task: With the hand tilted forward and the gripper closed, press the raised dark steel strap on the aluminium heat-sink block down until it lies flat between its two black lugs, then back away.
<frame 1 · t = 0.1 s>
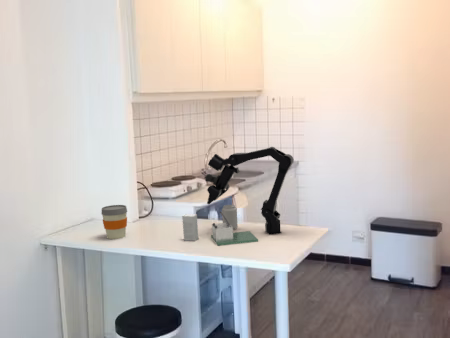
hand: (210, 202, 260), 15 cm above the counter, tool tilted 35°, fingers open, 9 cm apart
can: (230, 229, 265), on the counter
strap: (224, 218, 242), point 10 cm above the counter, hinge at 60.0°
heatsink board: (234, 239, 245), on the counter
reusable coffee cup: (116, 237, 260), on the counter
skincare box: (191, 240, 248), on the counter
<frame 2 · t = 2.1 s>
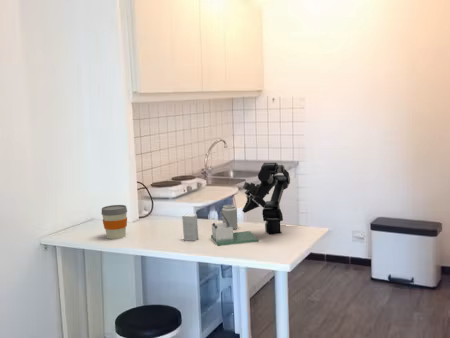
hand: (243, 212, 244), 13 cm above the counter, tool tilted 45°, fingers closed
nothing on the counter moved.
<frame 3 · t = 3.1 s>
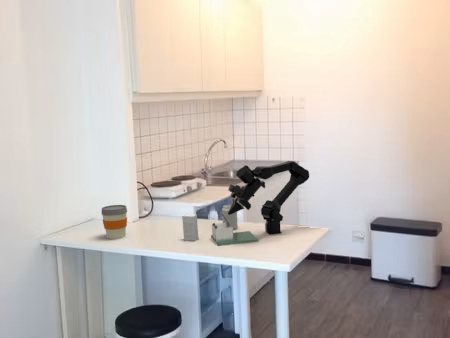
hand: (228, 214, 242), 12 cm above the counter, tool tilted 45°, fingers closed
nothing on the counter moved.
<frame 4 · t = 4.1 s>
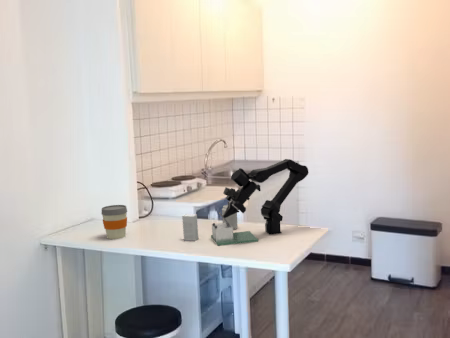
hand: (223, 217, 242), 11 cm above the counter, tool tilted 45°, fingers closed, pressing on strap
strap: (224, 218, 242), point 10 cm above the counter, hinge at 55.1°, touching gripper
everything else where it was.
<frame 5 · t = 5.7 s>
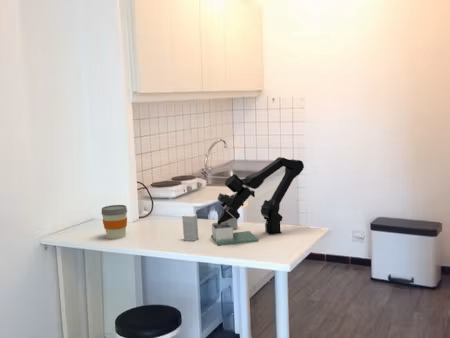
hand: (217, 223, 242), 8 cm above the counter, tool tilted 45°, fingers closed, pressing on strap
strap: (220, 224, 242), point 8 cm above the counter, hinge at 4.4°, touching gripper
everything else where it was.
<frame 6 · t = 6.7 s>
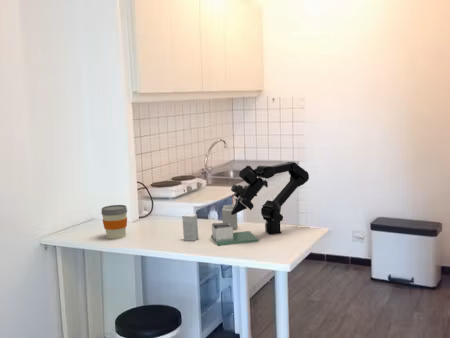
hand: (231, 214, 243), 12 cm above the counter, tool tilted 45°, fingers closed
strap: (220, 224, 242), point 8 cm above the counter, hinge at 3.9°
everything else where it was.
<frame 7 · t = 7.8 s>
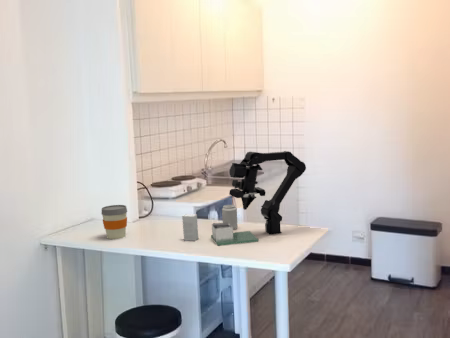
hand: (244, 209, 248), 13 cm above the counter, tool pointing down, fingers closed
nothing on the counter moved.
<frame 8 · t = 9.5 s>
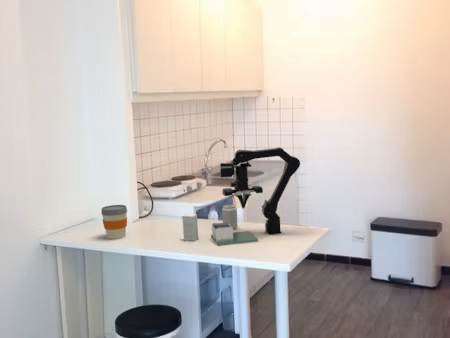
hand: (243, 208, 250), 13 cm above the counter, tool pointing down, fingers closed
nothing on the counter moved.
at the end: strap at +4° (first picture: +60°); can moved 0.2 cm from its start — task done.
